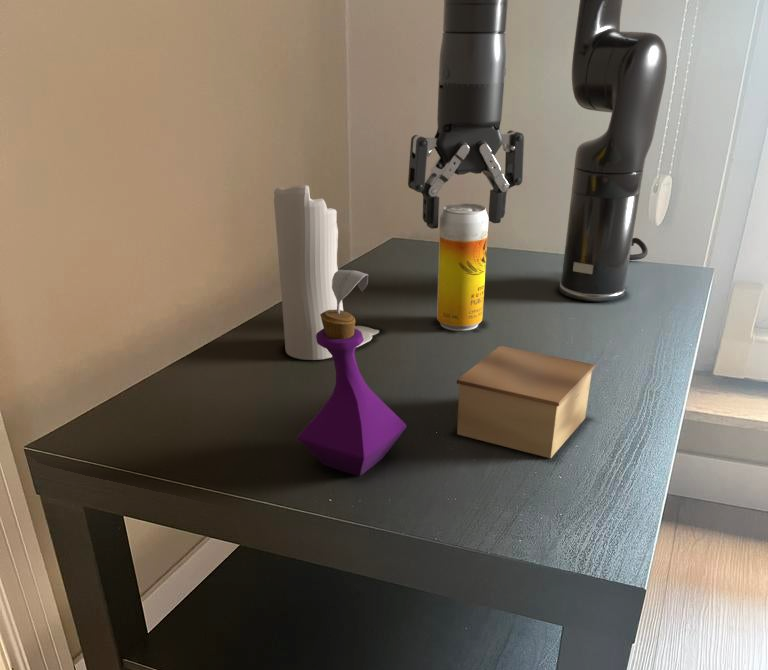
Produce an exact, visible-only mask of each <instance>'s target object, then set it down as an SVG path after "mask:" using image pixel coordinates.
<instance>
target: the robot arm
mask: <svg viewBox="0 0 768 670" xmlns="http://www.w3.org/2000/svg"><path fill="white" fill-rule="evenodd" d="M623 1H624V0H579V3H578V13H577V19H576V26H575V36H574V43H573V52H572V59H571V60H572V62H571V87H572V92H573V97H574V99H575V101H576V103H577V104H578V105H579V106H580V107H581V108H583V109H584V110H588V111H593V112H603V113H609V114H610V113H611V116H610V121H609V124H608V127H607V129H606V130H605V132H604V133H603V134H602V135H600V136H599V137H596V138H593V139H590V140H587V141H584V142H582V143H580V144H579V145H578V147H577V149H576V151H575V156H574V158H575V159H574V168H573V175H572V176H573V177H572V186H571V195H570V203H569V211H568V219H567V230H566V235H565V236H566V238H565V246H564V252H563V260H562V261H563V262H562V270H561V278H560V279H561V280H560V282H559V292H560V293H561V294H562V295H564V296H565V297H568V298H571V299H575V300H579V301H584V302H585V301H586V302H611V301H614V300H615V301H616V300H619V299H621V298H623V297H624V296H625V293H626V280H627V275H628V270H629V264H630V263H629V262H630V261H637V260H642V259H644V258H646V257H647V256H648V253H649V251H648V250H649V249H648V246H647V245H646V244H645V242H644V241H642V239H640V238H638V237H634V231H635V225H636V219H637V213H638V208H639V201H640V193H641V187H642V181H643V174H644V169H645V163H646V158H647V156H648V154H649V151H650V149H651V146H652V143H653V140H654V136H655V130H656V126H657V120H658V116H659V112H660V106H661V102H662V97H663V93H664V89H665V84H666V78H667V69H668V67H667V66H668V55H667V48H666V45H665V42H664V40H663V39H662V37H660V35H658V34H656V33H653V32H646V31H644V32H643V31H621V15H622V6H623ZM508 5H509V0H443V16H442V17H443V19H442V31H443V32H442V36H441V37H442V38H441V44H440V52H439V62H438V63H439V69H438V88H437V89H438V91H437V115H436V116H437V119H436V121H437V130H436V133H435V134H434V136H422V135H418V134H414V135H413V136H412V137H411V139H410V149H409V152H410V153H409V164H408V175H407V176H408V177H407V186H408V188H409V189H411V190H413V191H415V192H417V193H420V194H421V195H422V220H423V222H424V223H425V224H426V226H427V227H428V228H430V229H431V230H433V229H438V228H439V220H440V216H439V215H440V197H439V196H438V194H439V192H440V191H441V190H442V188H443V187H444V185H445V184H446V183H447V182H449V181H450V180H451V178H452V176H453V175H454V174H455V175H457V176H459V175H461V176H462V175H466V174H469V173H472V174H475V175H476V174H483V175H484V176H485V178H486V179H487V181H488V182H489V184H490V185H491V187H492V189H489V202H488V213H487V215H488V217H489V220H488V222H491V223H492V224H500V223H501V221H502V219H504V217H505V215H506V204H507V203H506V202H507V194H508V191H509V190H510V189H511V188H513V187H515V186H517V187H518V186H521V184H522V183H523V179H524V178H523V176H524V174H523V173H524V153H525V152H524V150H525V135H524V133H522V132H520V131H515V130H511V129H510V130H508V131H507V133H501V129H500V127H501V122H502V116H503V102H504V91H505V77H506V73H507V69H506V62H507V47H506V46H507V45H506V32H507V21H508V20H507V19H508V8H509V7H508ZM501 146H502V150H503V151H504V152H505V159H504V161H505V162H504V163H505V164H504V173H503V170H502V168H501V166H500V164H499V163H498V161H497V159H496V154H497V153H498V151H499V149H500V148H501ZM433 149H435V152H436V153H437V154H438V158H437V159H436V161H435V162H434V163H433V166H432V167H431V168H430V170H429V171H430V172H429V174H428V176H427V178H426V175H427V173H426V172H427V161H428V157H430V155H431V154H432V151H433ZM635 244H636V245H637V246H638V247H639V248H640V249H641V252H640V253H636V254H631V251H632V247H635V246H634V245H635Z"/></svg>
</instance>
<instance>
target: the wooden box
mask: <svg viewBox="0 0 768 670" xmlns="http://www.w3.org/2000/svg"><path fill="white" fill-rule="evenodd" d="M595 369H596V364H594V363H589V362H584V361H580V360H575V359H569V358H564V357H560V356H554V355H550V354H544V353H539V352H534V351H529V350H525V349H519V348H513V347H509V346H504V345H499V346H498V347H497V348H495V349H494V350H493V351H492V352H490V353H489V354H488V355H486V356H485V357H484V358H483V359H482V360H480V361H479V362H478V363H476V364H475V365H473V367H471V368H470V369H468V371H466V372H465V373H464V374H462V375H461V376H459V378H457V379H456V384H458V385H459V388H458V405H457V406H458V408H457V426H456V427H457V428H456V429H457V430H456V435H458V436H462V437H466V438H470V439H472V440H473V439H474V440H478V441H482V442H484V443H488V444H493V445H496V446H499V447H504V448H509V449H513V450H517V451H519V452H523V453H528V454H532V455H535V456H540V457H543V458H547V459H552V458H553V457H554V456H555V454H556V453H557V452H558V451H559V449H560V448H561V447H562V446H563V445H564V443H566V442H567V440H568V439H569V438H570V436H571V435H572V434H574V432H575V431H576V430H577V429H578V427H579V426H580V425H581V424H582V423H583V421H584V420H585V419H586V414H587V409H588V408H587V407H588V401H589V394H590V387H591V382H592V381H591V380H592V375H593V374H592V373H593V371H594V370H595Z"/></svg>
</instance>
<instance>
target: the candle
mask: <svg viewBox="0 0 768 670" xmlns="http://www.w3.org/2000/svg"><path fill="white" fill-rule="evenodd" d="M273 196H274V197H273V206H274V207H273V208H274V219H275V233H276V244H277V255H278V256H277V257H278V271H279V272H278V273H279V281H280V283H279V284H280V293H281V305H282V321H283V334H284V335H283V336H284V347H285V348H284V349H285V353H286V354H287V355H288V356H289V357H291V358H294V359H297V360H303V361H318V360H326V359H331V358H333V357H332V355H331V354H330V352H329V351H328V350H327V349H326V348H324V347H322V346H320V345H319V344H317V339H316V335H317V333H318V332H319V331H320V330H322V329H323V328H324V327H323V323H322V320H321V315H320V314H322V313H323V312H325V311H327V310H337V300H336V297H335V295H334V292H333V290H332V278H333V276H334V274H335V273H336V272H337V271H338V270H339V268H338V246H339V245H338V244H339V243H338V241H339V240H338V239H339V229H338V223H337V222H338V221H337V219H338V217H337V215H338V214H337V213H338V212H337V210H336V208H332V207H327V204H326V201H325V200H324V198H316V199H312V198H311V194H310V186H309V185H307V184H298V185H294V186H292V187H288V188H283V187H277V188H275V189H274V192H273ZM340 310H341V311H344V303H343V299H342V300H341V302H340ZM355 328H356V329H358V330H360V331H361V332H362V335H363V339H364V340H363V342H362V343H361V344H360V345H359V346H357V347H356V348H359V347H362V346H363V345H365V344H367V343H369V342H370V341H371V340H372V339H373V336H376V335H377V334H379V333H380V330H379V329H374V328H371V327H368V326H363V325H355Z"/></svg>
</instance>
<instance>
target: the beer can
mask: <svg viewBox="0 0 768 670" xmlns="http://www.w3.org/2000/svg"><path fill="white" fill-rule="evenodd" d="M442 209H443V210H442V212H441V214H440V216H439V233H438V235H439V236H438V237H439V238H438V264H437V265H438V268H437V269H438V271H437V303H436V320H437V322H439V324H440V326H441V327H442V328H444V329H446V330H449V331H455V332H464V331H470V330H471V331H472V330H474V329H476V328H478V326H479V324H481V322H482V321H483V317H484V315H483V313H484V300H485V299H484V298H485V284H486V283H485V282H486V269H487V267H486V265H487V251H488V250H487V249H488V235H489V217H488V213H487V207H486V206H484V205H481V204H478V203H470V202H469V203H467V202H466V203H465V202H461V203H460V202H459V203H450V204H447V205H444V206H443V208H442Z"/></svg>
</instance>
